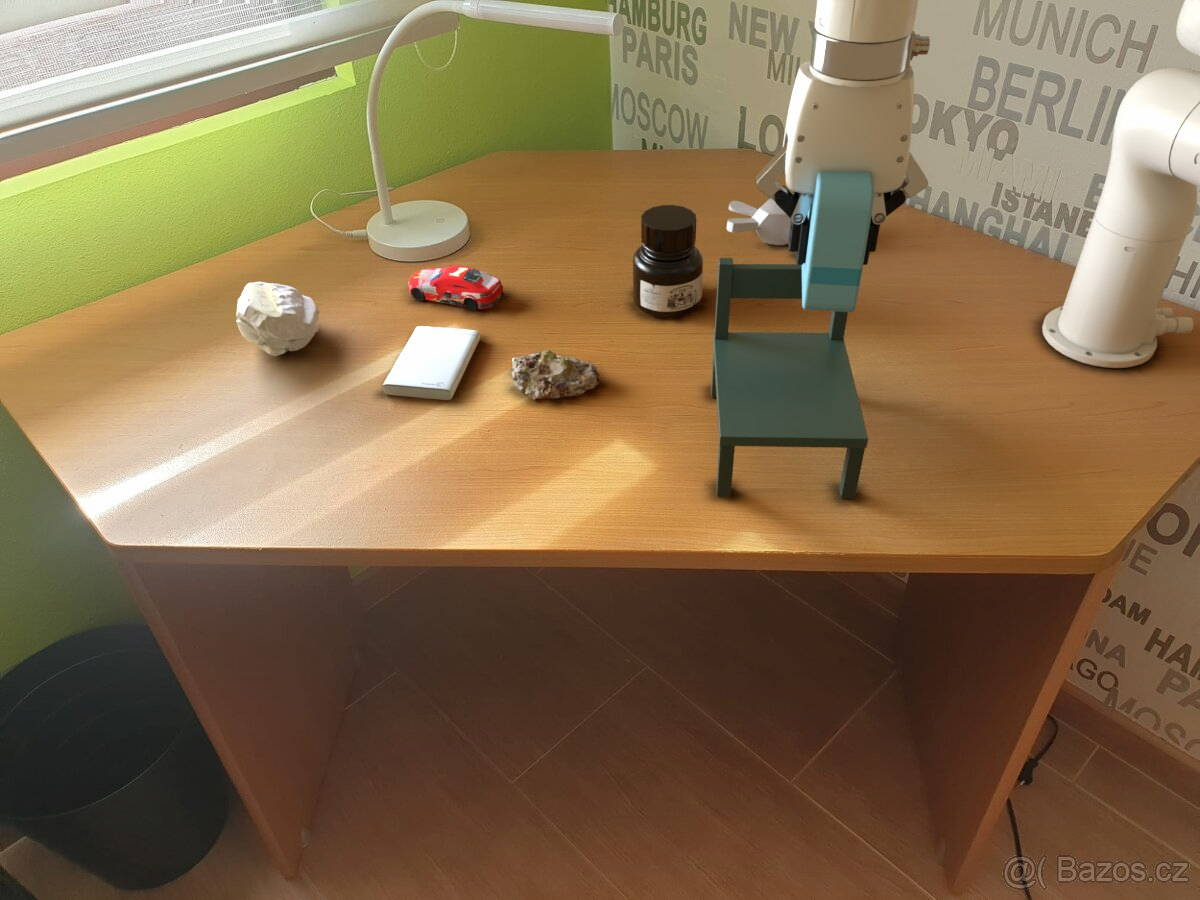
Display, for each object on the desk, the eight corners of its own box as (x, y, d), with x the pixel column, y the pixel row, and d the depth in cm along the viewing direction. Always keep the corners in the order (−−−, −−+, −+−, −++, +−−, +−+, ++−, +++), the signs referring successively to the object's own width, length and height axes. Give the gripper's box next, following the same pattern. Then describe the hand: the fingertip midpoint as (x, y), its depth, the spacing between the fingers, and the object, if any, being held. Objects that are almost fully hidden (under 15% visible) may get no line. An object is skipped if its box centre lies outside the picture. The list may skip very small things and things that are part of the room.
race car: (402, 299, 127) (396, 272, 125) (422, 279, 131) (417, 253, 128) (490, 316, 123) (487, 289, 121) (509, 295, 127) (506, 268, 124)
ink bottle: (642, 325, 121) (642, 240, 113) (621, 291, 127) (620, 207, 119) (714, 312, 122) (719, 227, 115) (690, 278, 129) (693, 196, 121)
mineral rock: (499, 385, 108) (515, 331, 112) (504, 408, 111) (519, 355, 116) (593, 396, 106) (605, 341, 111) (595, 419, 110) (606, 365, 114)
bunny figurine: (839, 231, 129) (729, 214, 130) (829, 264, 133) (723, 247, 134) (836, 199, 137) (732, 184, 137) (827, 231, 140) (726, 216, 141)
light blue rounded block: (854, 319, 84) (875, 193, 76) (802, 316, 85) (818, 190, 77) (848, 252, 93) (867, 133, 85) (801, 250, 94) (815, 131, 86)
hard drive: (450, 389, 109) (479, 329, 118) (381, 383, 110) (415, 324, 119) (451, 401, 110) (480, 340, 119) (384, 395, 111) (417, 335, 120)
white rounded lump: (297, 309, 126) (230, 346, 121) (274, 253, 121) (203, 290, 116) (346, 338, 119) (278, 378, 114) (324, 280, 113) (251, 320, 109)
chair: (832, 391, 109) (854, 257, 98) (856, 499, 96) (884, 359, 84) (710, 389, 110) (717, 257, 99) (715, 497, 96) (725, 357, 85)
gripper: (958, 36, 78) (916, 237, 90) (748, 38, 79) (734, 237, 91) (981, 68, 72) (933, 279, 84) (754, 70, 73) (738, 278, 85)
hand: (830, 255), depth 87 cm, fingers closed on light blue rounded block, 4 cm apart
